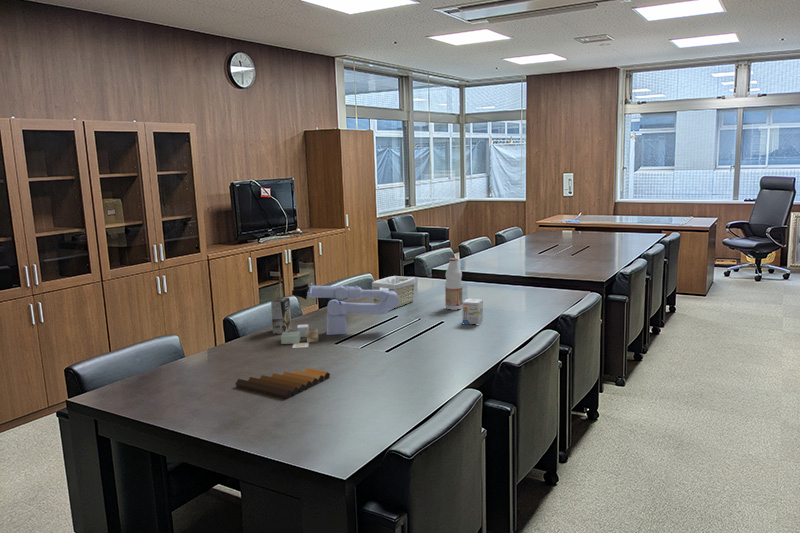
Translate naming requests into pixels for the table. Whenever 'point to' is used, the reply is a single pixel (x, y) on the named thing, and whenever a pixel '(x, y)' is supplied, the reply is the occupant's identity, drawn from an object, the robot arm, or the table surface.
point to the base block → (290, 337)
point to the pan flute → (284, 382)
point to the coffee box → (281, 315)
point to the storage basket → (396, 288)
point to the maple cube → (312, 335)
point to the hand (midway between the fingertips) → (292, 290)
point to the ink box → (472, 311)
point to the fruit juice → (453, 285)
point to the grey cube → (302, 330)
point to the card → (300, 345)
